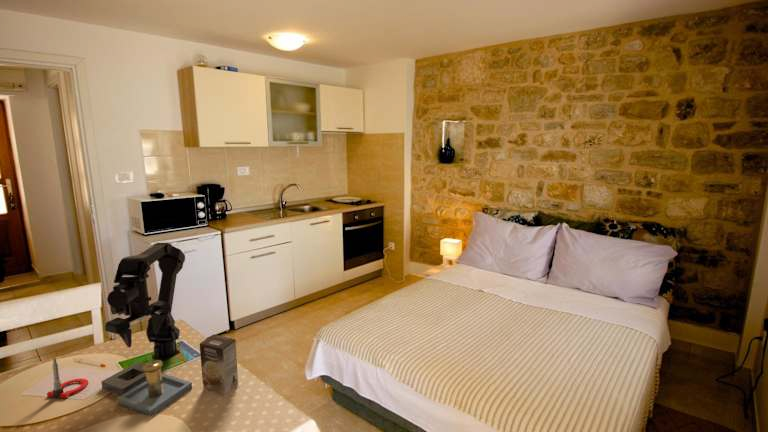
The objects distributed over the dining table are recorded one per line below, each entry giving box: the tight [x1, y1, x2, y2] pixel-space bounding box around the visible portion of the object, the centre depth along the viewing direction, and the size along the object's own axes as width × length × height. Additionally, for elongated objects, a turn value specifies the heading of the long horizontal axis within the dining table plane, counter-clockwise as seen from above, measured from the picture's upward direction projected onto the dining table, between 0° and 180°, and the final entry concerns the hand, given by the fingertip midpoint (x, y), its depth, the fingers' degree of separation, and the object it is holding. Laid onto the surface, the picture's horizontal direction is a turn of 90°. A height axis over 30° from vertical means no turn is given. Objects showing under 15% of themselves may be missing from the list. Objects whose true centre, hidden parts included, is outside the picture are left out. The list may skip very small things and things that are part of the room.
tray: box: [116, 372, 193, 417], centre depth 118 cm, size 14×14×2 cm
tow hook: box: [46, 356, 89, 400], centre depth 120 cm, size 8×13×9 cm
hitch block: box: [101, 361, 146, 396], centre depth 125 cm, size 12×10×2 cm
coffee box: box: [199, 333, 239, 396], centre depth 121 cm, size 9×6×16 cm
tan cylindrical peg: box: [142, 359, 163, 398], centre depth 117 cm, size 5×5×10 cm
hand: (143, 340), depth 126 cm, fingers open, 9 cm apart
